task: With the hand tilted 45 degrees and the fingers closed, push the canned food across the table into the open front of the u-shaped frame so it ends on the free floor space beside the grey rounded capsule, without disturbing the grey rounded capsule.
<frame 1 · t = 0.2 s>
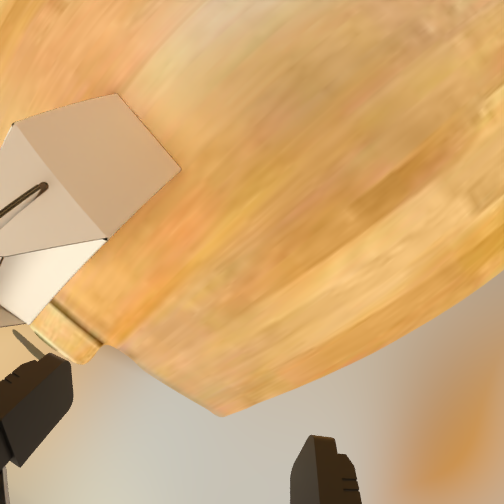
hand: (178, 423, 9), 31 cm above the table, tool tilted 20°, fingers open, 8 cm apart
gable box: (100, 180, 40), on the table
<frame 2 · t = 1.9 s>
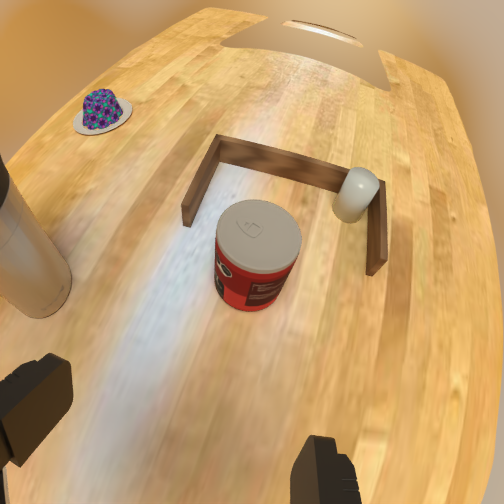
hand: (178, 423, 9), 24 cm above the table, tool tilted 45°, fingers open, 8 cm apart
canned food: (246, 283, 39), on the table
grey rounded capsule: (346, 210, 46), on the table
u-shaped frame: (288, 212, 44), on the table
patterned hat: (102, 118, 52), on the table
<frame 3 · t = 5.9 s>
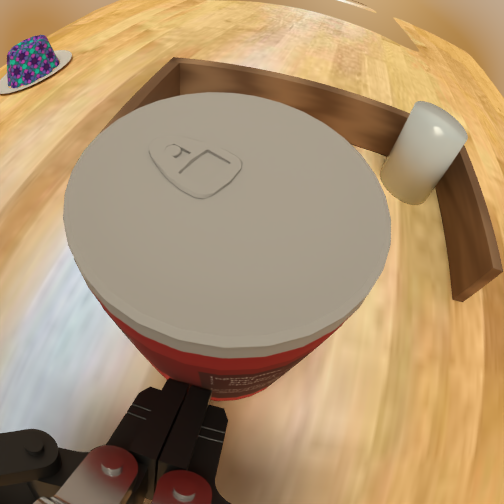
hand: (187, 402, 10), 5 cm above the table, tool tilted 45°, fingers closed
canned food: (217, 330, 16), on the table, touching gripper
grey rounded capsule: (404, 183, 24), on the table
u-shaped frame: (303, 182, 23), on the table
patterned hat: (34, 75, 31), on the table
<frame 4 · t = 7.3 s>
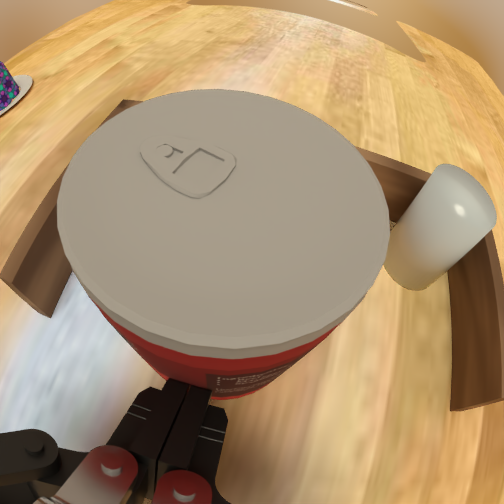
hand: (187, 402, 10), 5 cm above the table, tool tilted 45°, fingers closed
canned food: (215, 329, 16), on the table, touching gripper
grey rounded capsule: (409, 260, 20), on the table
u-shaped frame: (282, 275, 18), on the table
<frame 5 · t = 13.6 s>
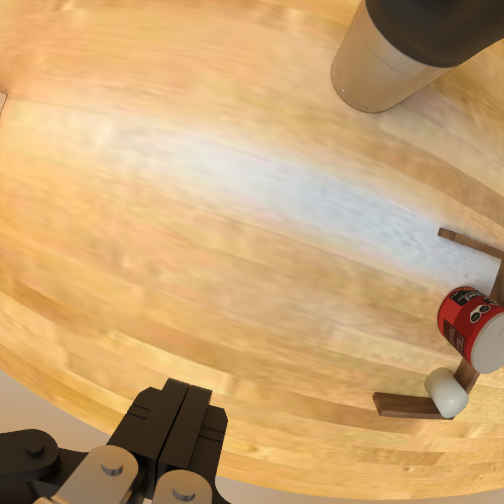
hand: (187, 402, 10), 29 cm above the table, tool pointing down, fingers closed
canned food: (457, 311, 38), on the table
grey rounded capsule: (437, 379, 40), on the table
u-shaped frame: (444, 328, 38), on the table
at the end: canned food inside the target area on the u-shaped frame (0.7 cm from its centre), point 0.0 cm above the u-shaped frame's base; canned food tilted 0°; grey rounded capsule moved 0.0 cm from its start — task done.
